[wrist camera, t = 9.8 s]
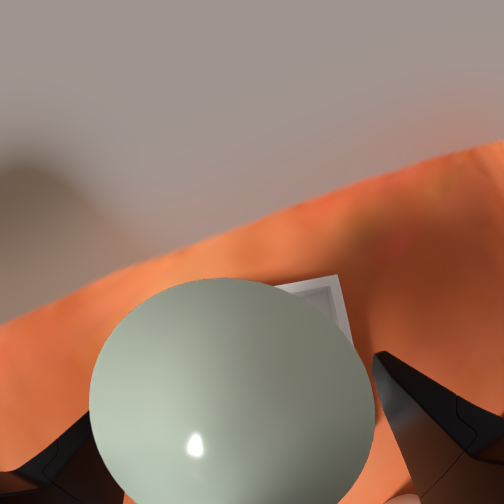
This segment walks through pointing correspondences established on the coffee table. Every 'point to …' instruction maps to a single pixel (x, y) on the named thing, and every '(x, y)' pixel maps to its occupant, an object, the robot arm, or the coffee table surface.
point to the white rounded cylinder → (404, 499)
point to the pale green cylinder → (231, 399)
